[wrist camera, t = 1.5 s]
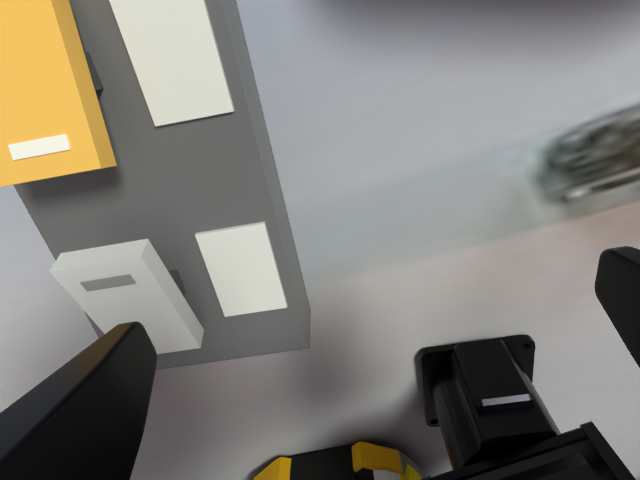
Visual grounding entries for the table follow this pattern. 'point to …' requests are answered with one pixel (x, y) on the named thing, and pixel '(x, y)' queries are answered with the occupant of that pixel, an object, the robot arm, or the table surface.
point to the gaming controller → (345, 465)
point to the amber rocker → (46, 96)
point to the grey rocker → (130, 292)
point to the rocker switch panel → (184, 173)
